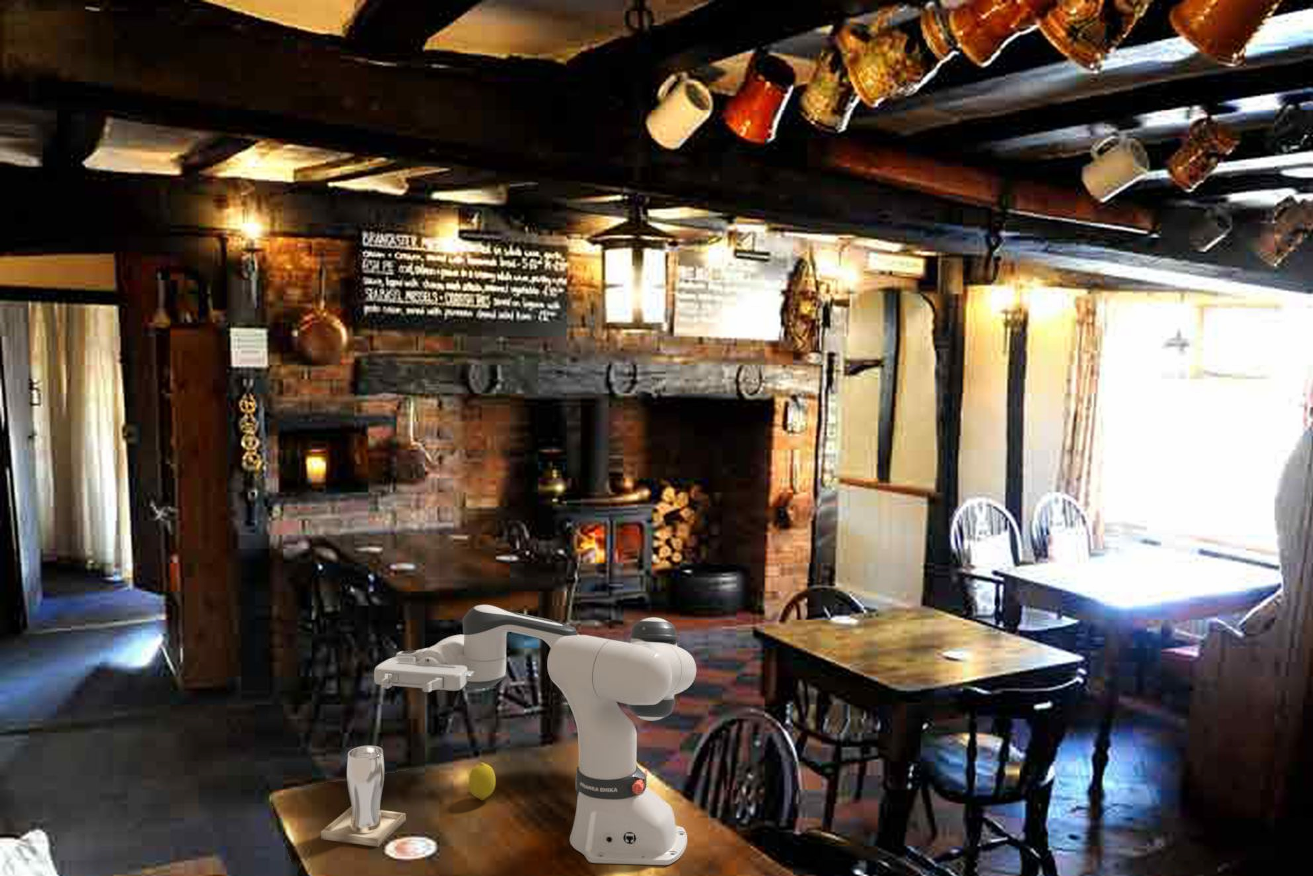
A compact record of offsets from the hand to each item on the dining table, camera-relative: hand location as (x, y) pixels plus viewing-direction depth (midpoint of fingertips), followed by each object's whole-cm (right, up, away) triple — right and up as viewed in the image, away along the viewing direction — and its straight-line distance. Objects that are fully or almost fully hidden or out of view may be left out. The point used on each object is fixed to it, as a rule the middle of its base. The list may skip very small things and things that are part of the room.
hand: (404, 686), depth 207 cm
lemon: (+16, -24, -1) cm, 29 cm away
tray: (-4, -24, -14) cm, 29 cm away
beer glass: (-4, -24, -14) cm, 28 cm away
